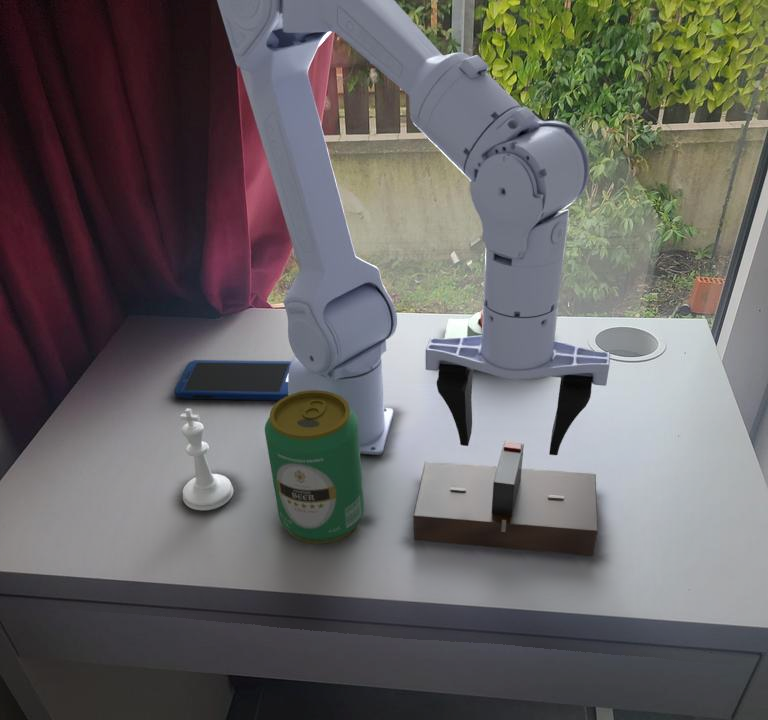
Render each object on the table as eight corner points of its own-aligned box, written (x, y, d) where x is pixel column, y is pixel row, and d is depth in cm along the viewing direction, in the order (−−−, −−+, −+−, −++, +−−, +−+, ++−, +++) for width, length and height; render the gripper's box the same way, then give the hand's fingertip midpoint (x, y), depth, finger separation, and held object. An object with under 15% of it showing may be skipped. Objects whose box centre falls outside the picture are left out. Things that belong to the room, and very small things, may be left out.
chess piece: (223, 513, 78) (203, 427, 71) (175, 507, 79) (151, 423, 72) (240, 481, 82) (223, 396, 75) (194, 476, 82) (173, 392, 76)
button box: (440, 367, 96) (441, 337, 94) (448, 333, 102) (448, 304, 100) (543, 372, 94) (546, 342, 92) (545, 338, 100) (548, 308, 98)
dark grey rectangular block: (511, 516, 71) (514, 482, 69) (491, 513, 72) (493, 479, 69) (521, 474, 76) (524, 441, 73) (501, 472, 76) (504, 439, 74)
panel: (411, 548, 73) (411, 522, 71) (426, 478, 81) (426, 452, 79) (593, 565, 71) (598, 538, 69) (591, 490, 78) (595, 464, 76)
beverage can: (268, 540, 75) (248, 434, 67) (295, 486, 81) (280, 382, 73) (351, 552, 73) (342, 445, 65) (373, 496, 79) (367, 391, 71)
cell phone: (292, 400, 92) (291, 395, 91) (172, 398, 93) (171, 393, 93) (303, 366, 97) (302, 360, 97) (190, 365, 99) (188, 359, 98)
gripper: (619, 283, 64) (596, 425, 73) (436, 271, 66) (436, 409, 75) (617, 326, 59) (593, 474, 67) (419, 312, 61) (421, 455, 70)
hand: (509, 443), depth 71 cm, fingers open, 7 cm apart
